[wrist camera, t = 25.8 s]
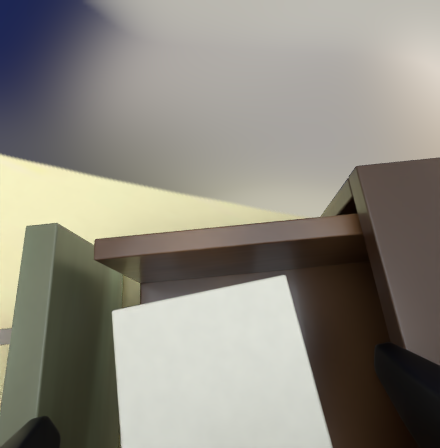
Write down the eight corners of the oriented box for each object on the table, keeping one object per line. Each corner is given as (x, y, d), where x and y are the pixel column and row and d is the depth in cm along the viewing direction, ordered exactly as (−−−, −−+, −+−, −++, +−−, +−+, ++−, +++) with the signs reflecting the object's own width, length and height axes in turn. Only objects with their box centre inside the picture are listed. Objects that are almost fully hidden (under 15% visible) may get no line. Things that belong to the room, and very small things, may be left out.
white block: (292, 412, 14) (345, 491, 7) (182, 435, 14) (126, 538, 7) (264, 299, 15) (285, 273, 9) (167, 320, 15) (110, 310, 8)
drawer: (-29, 581, 13) (-281, 816, 7) (16, 272, 18) (-110, 238, 11) (456, 546, 13) (680, 766, 6) (373, 238, 17) (454, 182, 11)
